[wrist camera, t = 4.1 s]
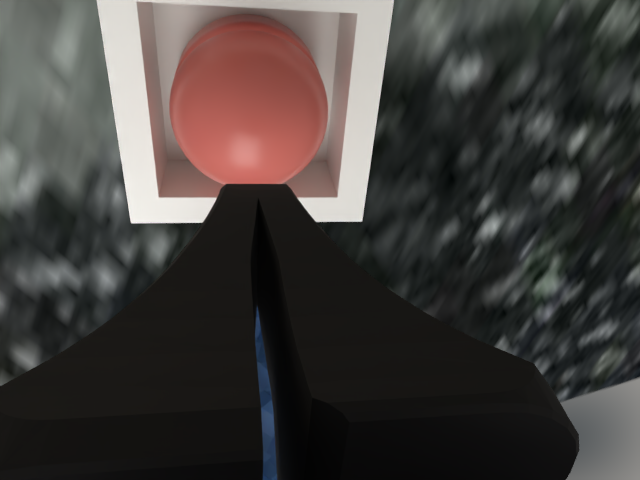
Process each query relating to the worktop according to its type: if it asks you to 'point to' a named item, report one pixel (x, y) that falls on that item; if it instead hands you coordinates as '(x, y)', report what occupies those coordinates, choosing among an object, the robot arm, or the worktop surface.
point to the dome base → (158, 74)
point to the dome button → (248, 101)
